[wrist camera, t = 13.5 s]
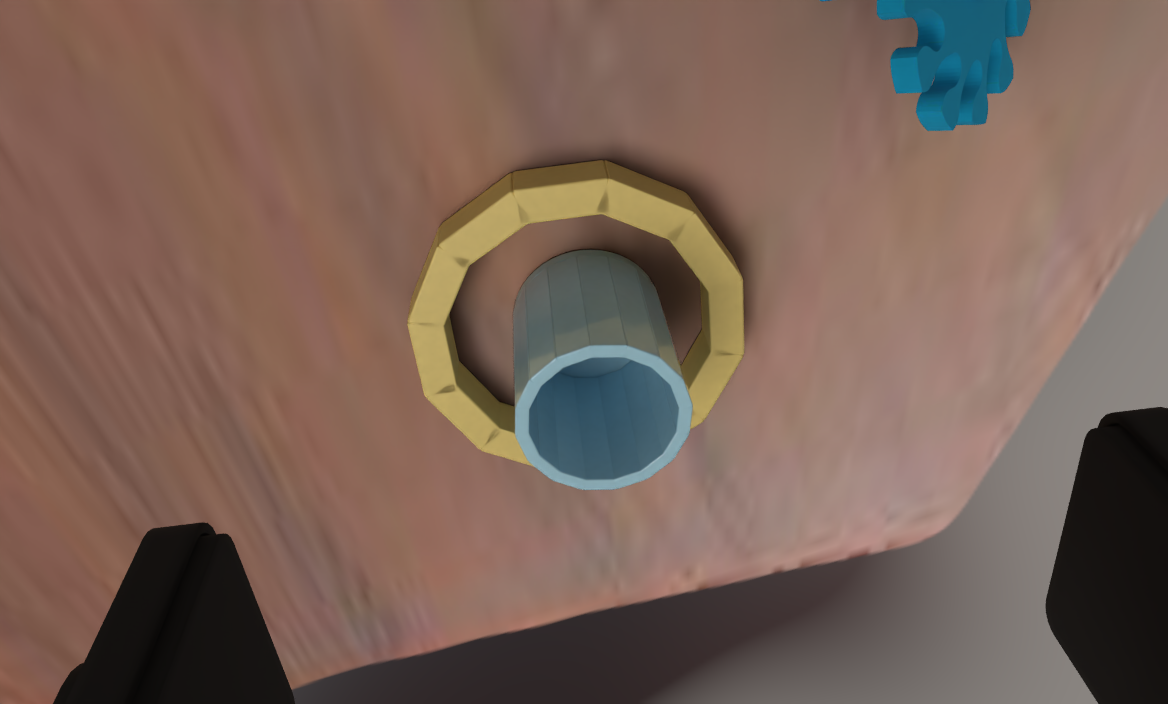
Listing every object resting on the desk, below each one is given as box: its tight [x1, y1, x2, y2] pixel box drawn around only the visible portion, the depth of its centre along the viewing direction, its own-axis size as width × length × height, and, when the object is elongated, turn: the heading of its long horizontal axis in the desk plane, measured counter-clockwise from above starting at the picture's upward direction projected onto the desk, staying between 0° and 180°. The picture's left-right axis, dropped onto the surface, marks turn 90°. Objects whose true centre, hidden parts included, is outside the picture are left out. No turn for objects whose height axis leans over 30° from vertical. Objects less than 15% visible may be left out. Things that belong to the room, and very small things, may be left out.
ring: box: [407, 160, 744, 466], centre depth 38 cm, size 13×13×2 cm
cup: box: [513, 250, 693, 490], centre depth 36 cm, size 6×6×8 cm
